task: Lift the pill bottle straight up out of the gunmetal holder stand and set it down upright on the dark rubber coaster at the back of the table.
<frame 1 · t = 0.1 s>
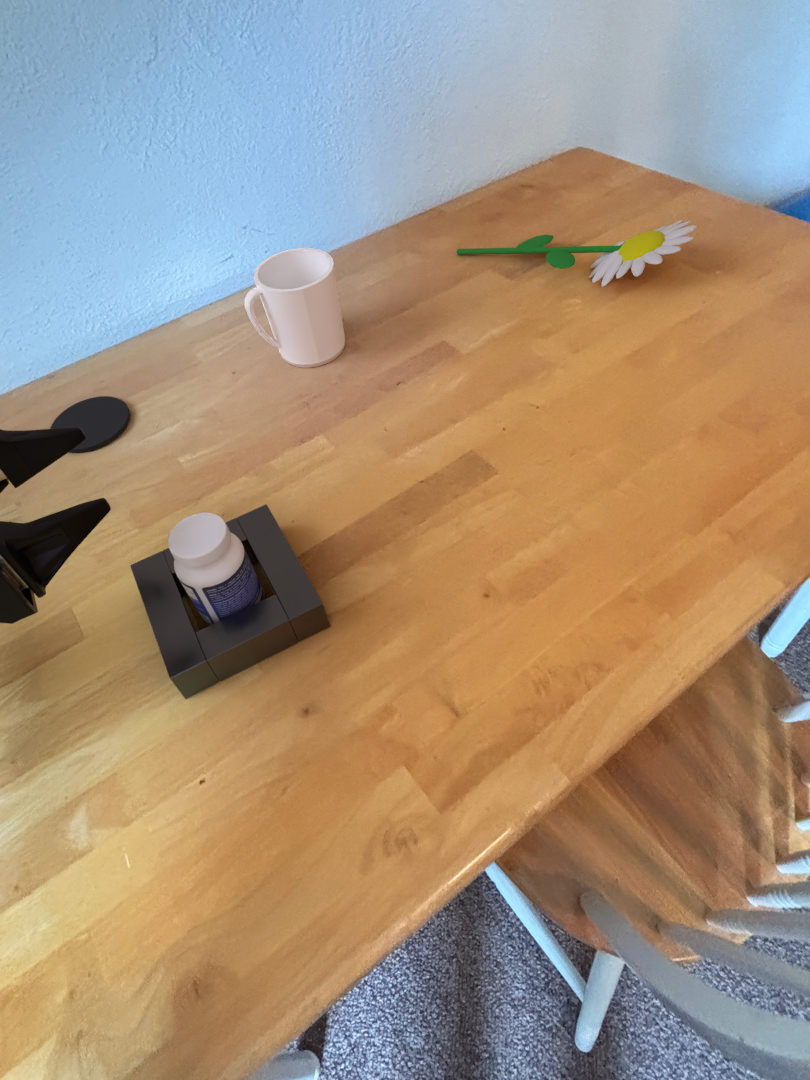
hand: (95, 466, 54), 14 cm above the table, tool horizontal, fingers open, 9 cm apart
pill bottle: (235, 607, 62), resting in stand
stand: (234, 606, 62), on the table
mug: (306, 352, 85), on the table
decorative flower: (565, 268, 91), on the table
coaster: (91, 425, 81), on the table
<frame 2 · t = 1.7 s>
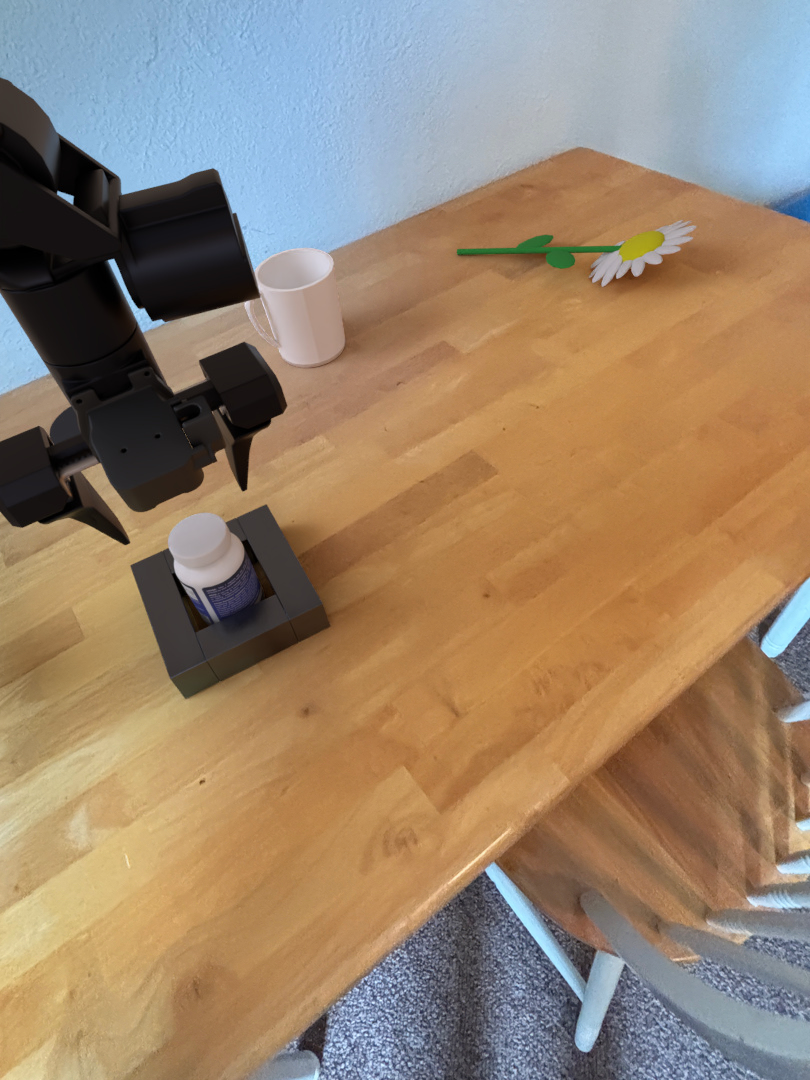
hand: (185, 513, 53), 12 cm above the table, tool pointing down, fingers open, 9 cm apart
nothing on the table moved.
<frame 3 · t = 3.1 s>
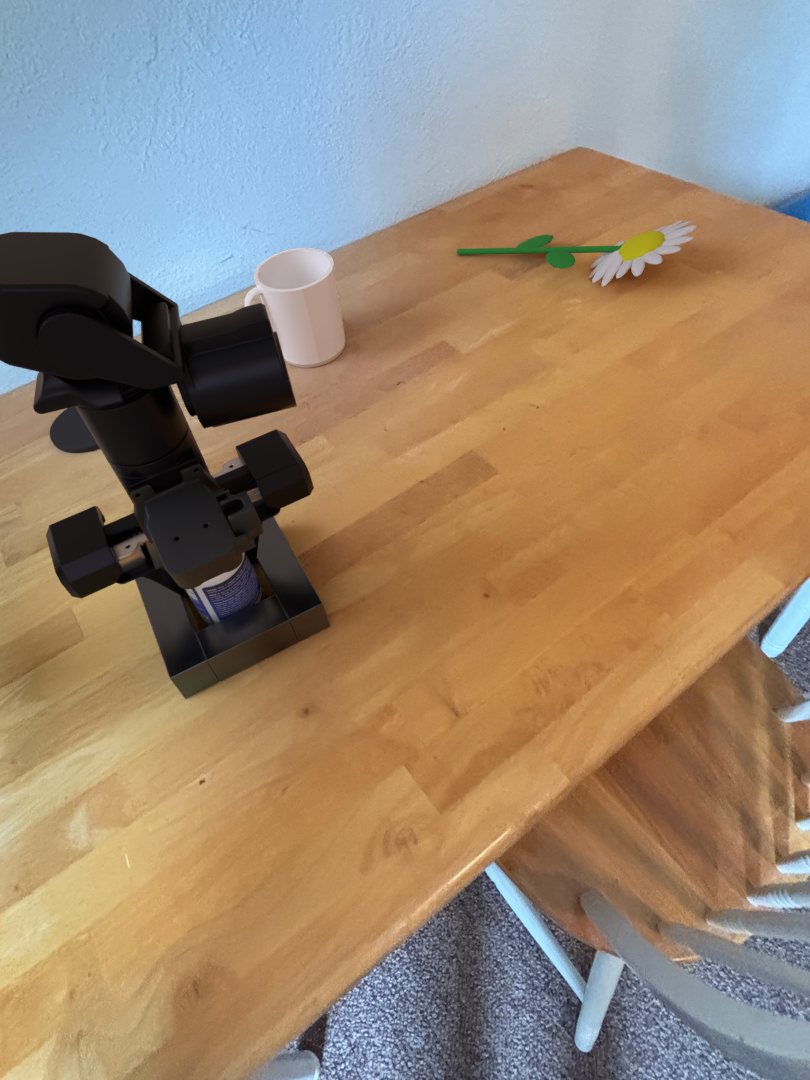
hand: (218, 576, 59), 5 cm above the table, tool pointing down, fingers closed on pill bottle, 6 cm apart
pill bottle: (235, 607, 62), resting in stand, touching gripper
everything else where it was.
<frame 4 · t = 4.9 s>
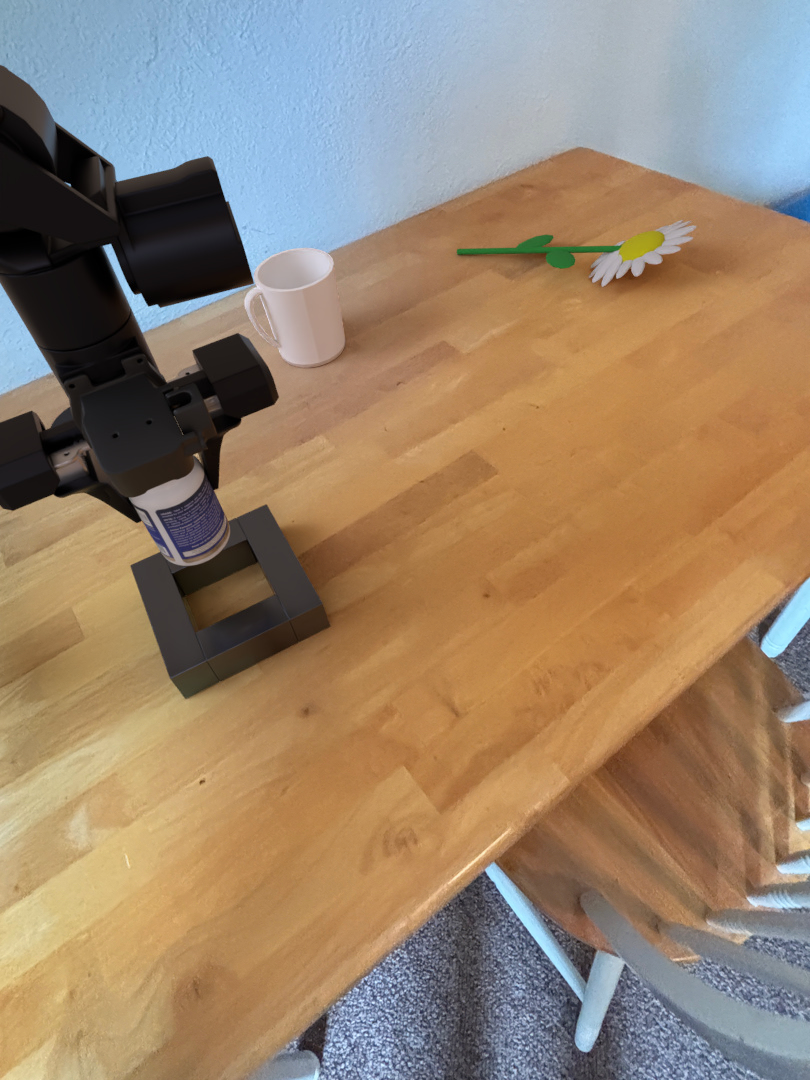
hand: (176, 502, 53), 13 cm above the table, tool pointing down, fingers closed on pill bottle, 6 cm apart
pill bottle: (197, 542, 57), point 8 cm above the table, touching gripper
everything else where it was.
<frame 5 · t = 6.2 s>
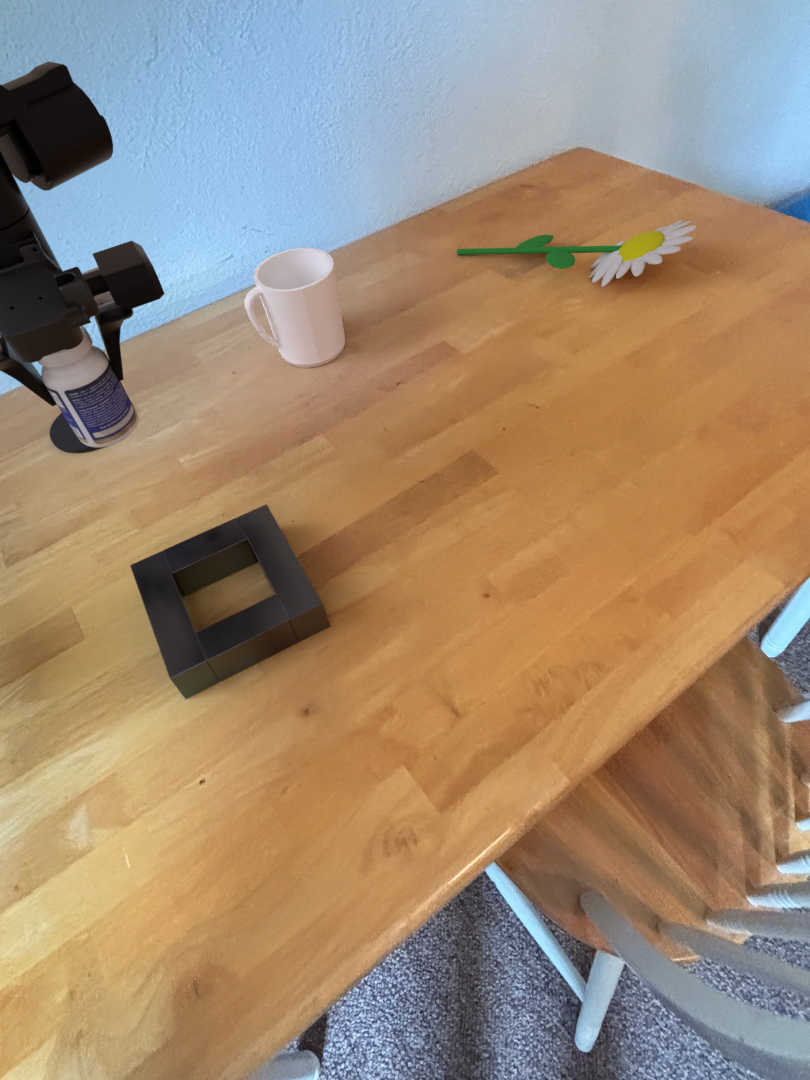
hand: (87, 390, 63), 13 cm above the table, tool pointing down, fingers closed on pill bottle, 6 cm apart
pill bottle: (110, 430, 66), point 8 cm above the table, touching gripper
everything else where it was.
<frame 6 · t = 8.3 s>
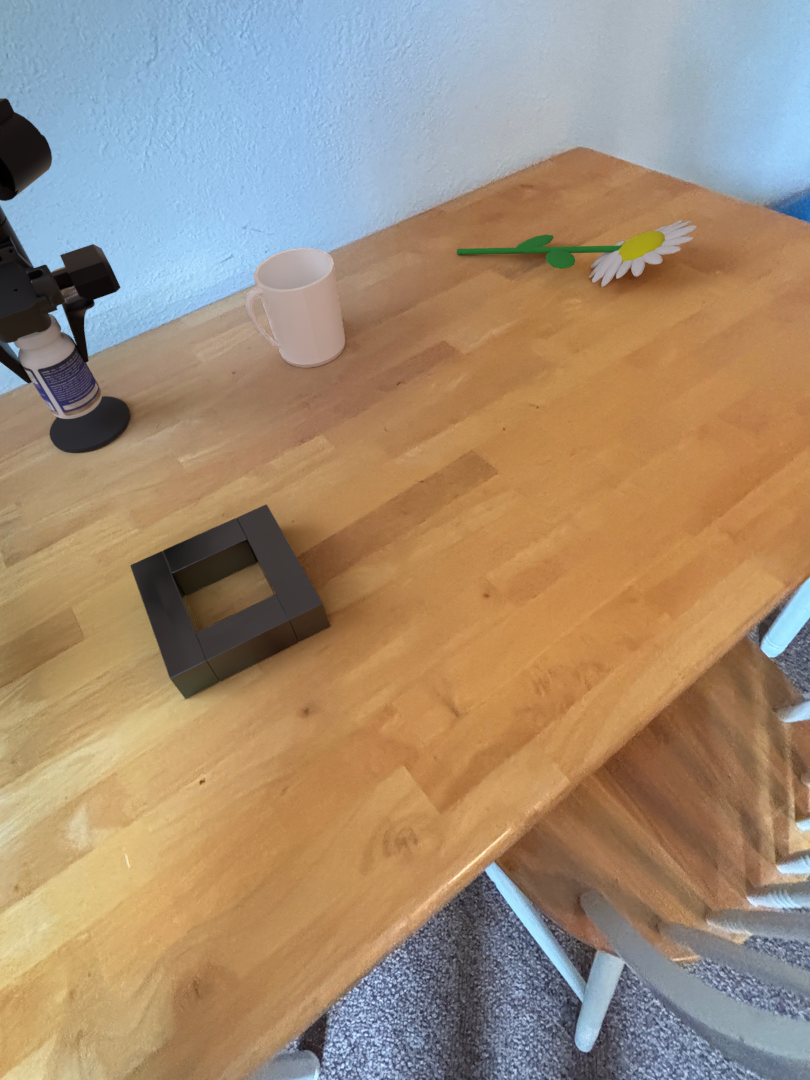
hand: (58, 370, 75), 8 cm above the table, tool pointing down, fingers closed on pill bottle, 6 cm apart
pill bottle: (78, 405, 78), point 3 cm above the table, touching gripper
everything else where it was.
when the fingers open (5 cm above the table, at t = 9.5 s): pill bottle stays where it is, resting on coaster.
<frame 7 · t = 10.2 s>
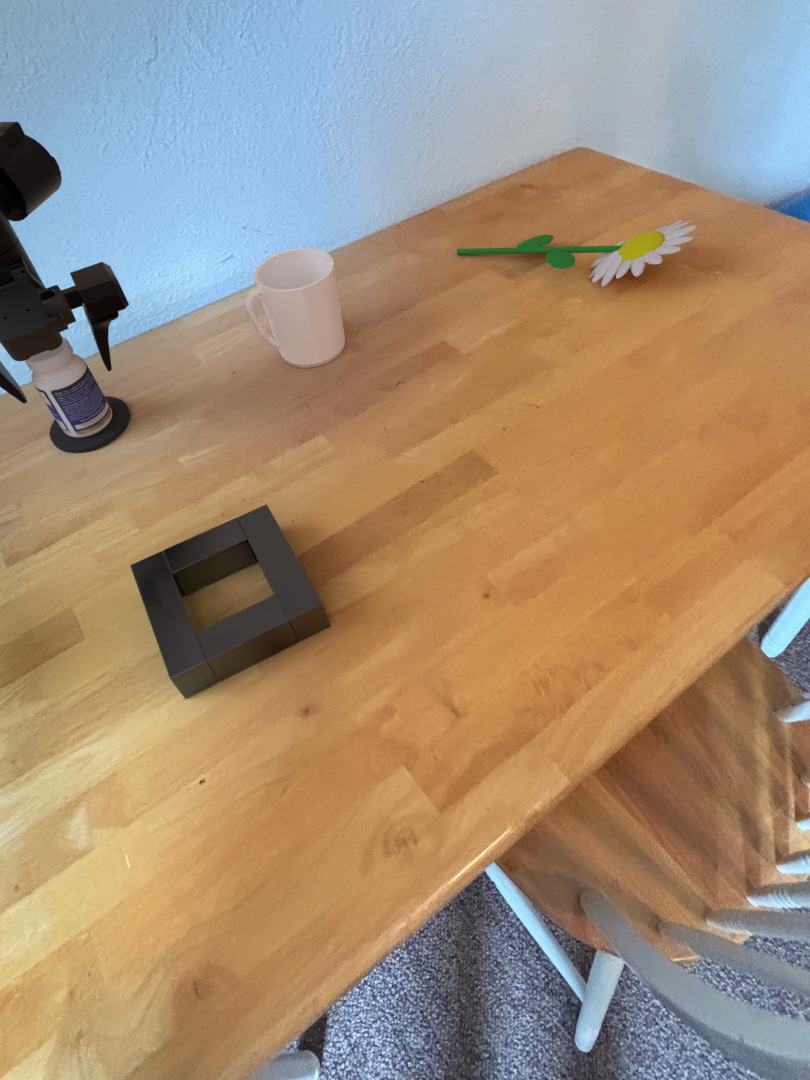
hand: (67, 384, 76), 6 cm above the table, tool pointing down, fingers open, 9 cm apart
pill bottle: (89, 423, 80), resting on coaster
everything else where it was.
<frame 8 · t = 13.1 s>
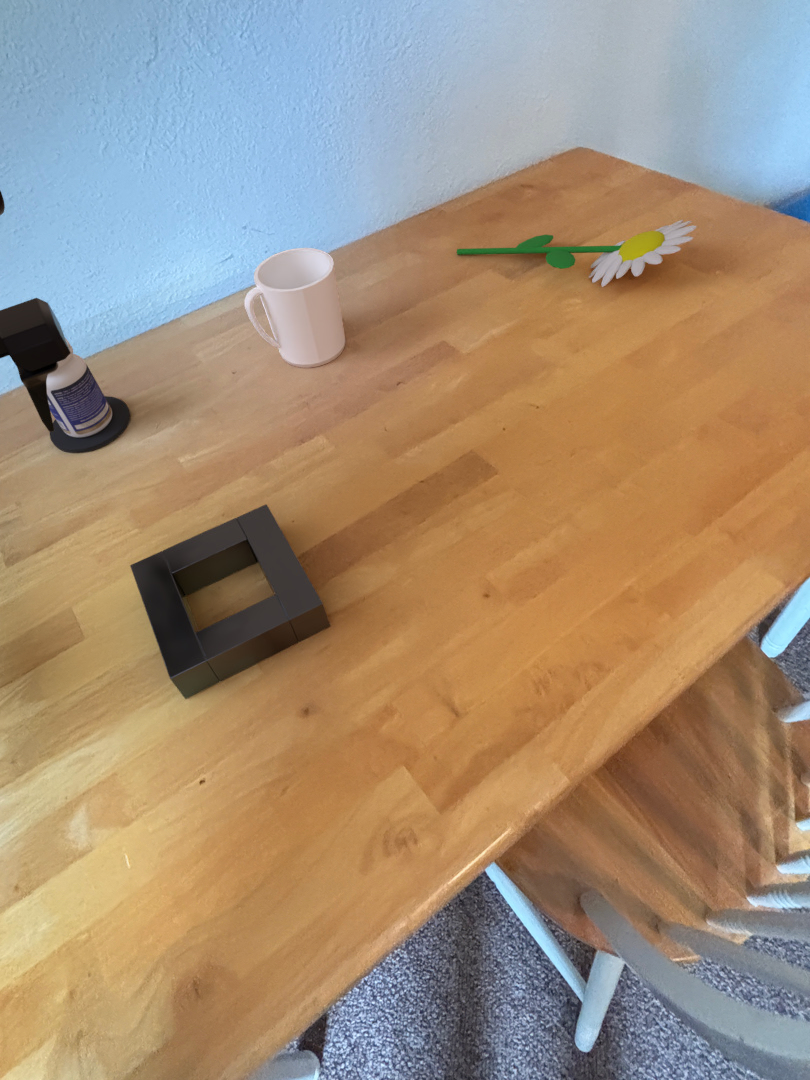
nothing on the table moved.
at the end: pill bottle 0.1 cm off-centre on the coaster, point 0.4 cm above the coaster's base; pill bottle tilted 0°; pill bottle moved 33.4 cm from its start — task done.
